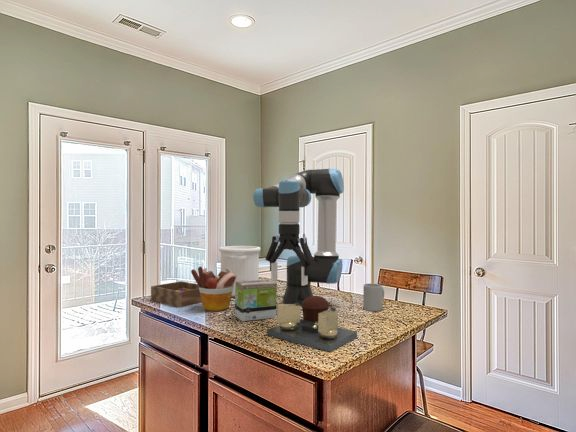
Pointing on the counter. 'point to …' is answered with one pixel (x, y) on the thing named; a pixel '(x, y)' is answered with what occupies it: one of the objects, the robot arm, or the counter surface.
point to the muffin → (313, 307)
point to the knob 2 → (328, 323)
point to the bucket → (241, 262)
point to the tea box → (255, 300)
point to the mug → (373, 297)
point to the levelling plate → (312, 336)
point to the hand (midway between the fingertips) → (289, 282)
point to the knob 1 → (288, 315)
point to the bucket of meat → (214, 288)
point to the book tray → (176, 294)
